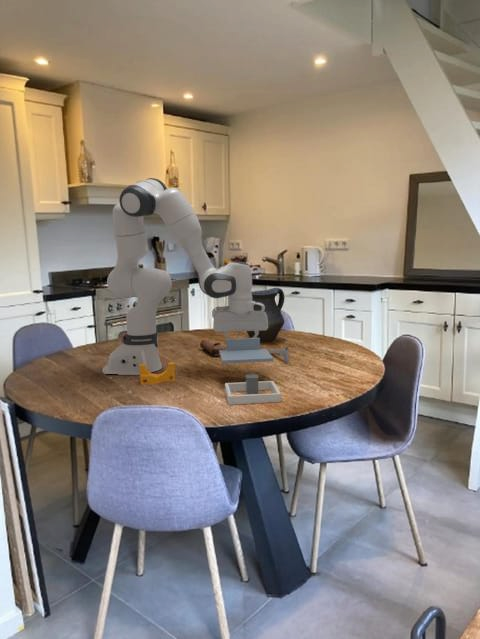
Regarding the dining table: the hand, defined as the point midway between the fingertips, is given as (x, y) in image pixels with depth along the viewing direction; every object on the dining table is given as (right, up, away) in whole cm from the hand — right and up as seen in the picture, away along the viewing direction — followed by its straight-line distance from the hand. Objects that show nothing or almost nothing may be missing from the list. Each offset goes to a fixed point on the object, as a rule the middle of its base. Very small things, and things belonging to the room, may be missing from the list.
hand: (241, 342), depth 190 cm
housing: (+3, -16, -28) cm, 32 cm away
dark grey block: (+3, -16, -28) cm, 32 cm away
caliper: (+15, -8, +22) cm, 28 cm away
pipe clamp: (-29, -14, -9) cm, 34 cm away
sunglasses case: (-10, -6, +36) cm, 38 cm away
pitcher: (+11, -2, +57) cm, 58 cm away
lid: (+1, -4, -13) cm, 14 cm away
